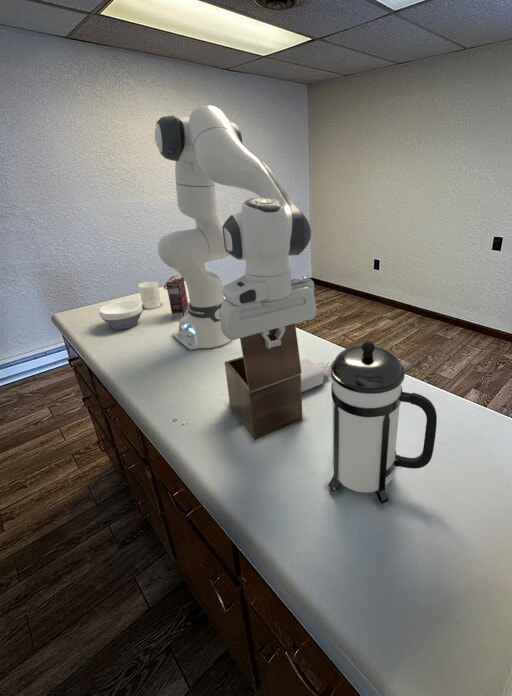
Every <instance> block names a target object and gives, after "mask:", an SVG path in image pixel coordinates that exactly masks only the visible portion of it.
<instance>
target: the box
mask: <svg viewBox="0 0 512 696" xmlns="http://www.w3.org/2000/svg"><path fill="white" fill-rule="evenodd" d="M224 367H225V378H226V385H227V393H228V401H229V406H230V407H231V409H232V410H233V412H234V413H235V414H236V416H237V417H238V420H239V421H240V422H241V423H242V425H243V426H244V427H245V429H246V431H247V432H248V434H249V436H251V438H252V439H253V441H257V440H259V439H262V438H265V437H266V436H268V435H270V434H273V433H275V432H277V431H280V430H283V429H284V428H287V427H289V426H291V425H294V424H296V423H298V422H300V421H302V420H303V399H302V398H303V397H302V396H303V395H302V393H303V392H301V374H298V375H296V376H293V377H290V378H287V379H285V380H282V381H279V382H276V383H273V384H271V385H268V386H265V387H262V388H259V389H257V390H254V391H251V392H250V391H249V389H248V383H247V377H246V371H245V365H244V359H243V356H239V357H237V358H233V359H230V360H226V361H224Z"/></svg>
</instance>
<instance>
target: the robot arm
mask: <svg viewBox="0 0 512 696" xmlns="http://www.w3.org/2000/svg"><path fill="white" fill-rule="evenodd" d="M154 143H155V144H156V147H157V149H158V151H159V154H160V155H161V156H162V157H163V158H164V159H166V160H169V161H173V162H175V165H174V170H175V171H174V173H175V175H174V176H175V178H174V179H175V188H176V189H175V190H176V201H177V207H178V210H179V211H180V212H181V214H183V215H184V216H185V217H188V218H190V219H192V220H194V221H195V228H190V229H184V230H178V231H177V230H176V231H174V232H170V233H168V234H165V235H163V236H161V237H160V239H159V241H158V244H157V253H158V256H159V258H160V260H161V261H162V263H164V264H165V265H166V266H168V267H170V268H172V269H173V270H175V271H177V272H178V273H179V274H180V276H182V277H183V278H184V283H185V285H186V288H187V289H186V290H187V293H188V298H189V301H188V303H186V304H188V305H187V306H189V310H188V313H187V314H186V315H185V316H184V317H182V318H181V319H179V321H178V329H177V330H175V331H174V332H173V337H174V338H175V339H176V340H178V341H179V342H180V343H181V344H183V346H185V347H186V348H187V349H188V350H197V349H213V348H218V347H221V346H224V345H226V344H228V343H229V342H231V341H236V340H238V339H239V340H240V338H243V337H246V336H250V335H254V334H257V333H260V334H261V336H262V337H263V338H264V339H265V346H266V347H267V348H268V349H270V348H273V347H276V346H279V345H281V338H282V336H283V334H284V332H285V326H287V325H291V324H294V323H295V324H297V323H301V322H305V321H309V320H313V319H314V318H315V316H316V315H317V303H316V297H315V282H314V280H313V279H311V278H310V277H308V276H303V277H300V278H293V279H292V267H291V263H290V261H289V257H290V256H300V255H301V254H302V253H303V251H304V250H305V249H306V248H307V246H309V243H310V242H311V237H312V230H311V225H310V222H309V221H308V218H307V217H306V216H305V214H304V213H303V212H302V211H301V209H299V208H298V207H297V206H296V205H295V204H294V203H293V201H292V199H290V197H289V195H288V193H287V192H286V190H285V189H284V188H283V186H282V184H281V183H280V182H279V180H278V178H277V177H276V175H275V174H274V173H273V172H272V170H271V169H270V167H269V166H268V165H267V163H266V162H264V161H263V160H262V159H260V158H259V157H257V156H256V155H254V154H253V153H252V152H251V151H250V150H248V148H246V146H244V144H243V135H242V132H241V130H240V128H239V126H238V125H237V123H235V122H232V121H230V120H229V118H228V116H227V115H226V114H225V113H224V112H223V111H222V110H221V109H220V108H218V107H216V106H214V105H211V104H205V105H200V106H198V107H195V109H194V110H193V111H192V112H191V113H190V115H189V116H175V115H166V116H161V117H160V118H158V120H157V121H156V124H155V128H154ZM216 184H217V185H221V186H226V187H231V188H237V189H242V190H245V191H248V192H252V193H254V194H256V195H257V196H259V197H252V198H249V199H246V200H245V201H243V203H242V205H241V211H239V212H237V213H235V214H231V215H230V216H229V217H228V218H227V219H226V220H225V221H223V219H222V218H221V217H220V214H219V211H218V205H217V196H216V195H217V194H216V193H217V192H216ZM229 256H232V257H233V258H234V259H236V260H240V261H241V260H242V261H245V269H244V275H242V276H240V277H238V278H237V279H235V280H233V281H231V282H229V283H227V284H225V285H224V286H223V280H222V279H221V277H220V276H219V275H218V274H217V273H214V272H211V271H208V270H207V269H206V266H205V263H209V262H213V261H217V260H222V259H224V258H227V257H229ZM163 288H167V285H166V284H164V285H163ZM272 329H277V330H276V333H275V335H274V336H273V337H269V338H268V336H267V335H269V330H272Z"/></svg>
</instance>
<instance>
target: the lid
mask: <svg viewBox="0 0 512 696" xmlns="http://www.w3.org/2000/svg"><path fill="white" fill-rule="evenodd" d="M276 330H277V329H272V330H269V335H267V336H268V338H269V337H273V336H274V335H275V333H276ZM239 341H240V347H241V353H242V357H243V359H244V365H245V371H246V377H247V383H248V389H249V391H250V392H251V391H254V390H257V389H259V388H262V387H265V386H268V385H271V384H273V383H276V382H279V381H282V380H285V379H287V378H290V377H293V376H296V375H298V374H301V365H300V361H301V358H300V350H299V342H298V335H297V329H296V323H294V324H291V325H287V326H285V332H284V334H283V336H282V338H281V345H279V346H276V347H273V348H270V349H268V348H267V347H266V346H265V339H264V338H263V337H262V336H261V334H260V333H257V334H254V335H250V336H246V337H243V338H239Z"/></svg>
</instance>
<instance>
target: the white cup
mask: <svg viewBox="0 0 512 696" xmlns="http://www.w3.org/2000/svg"><path fill="white" fill-rule="evenodd" d="M137 288H138V291H139V296H140V299H141V303H142V306H143V309H148V310H149V309H150V310H151V309H156V308H159V307H160V306H161V305H162V304H161V294H160V287H159V283H158V282H157V281H145V282H141V283H139V284H138V285H137Z"/></svg>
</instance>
